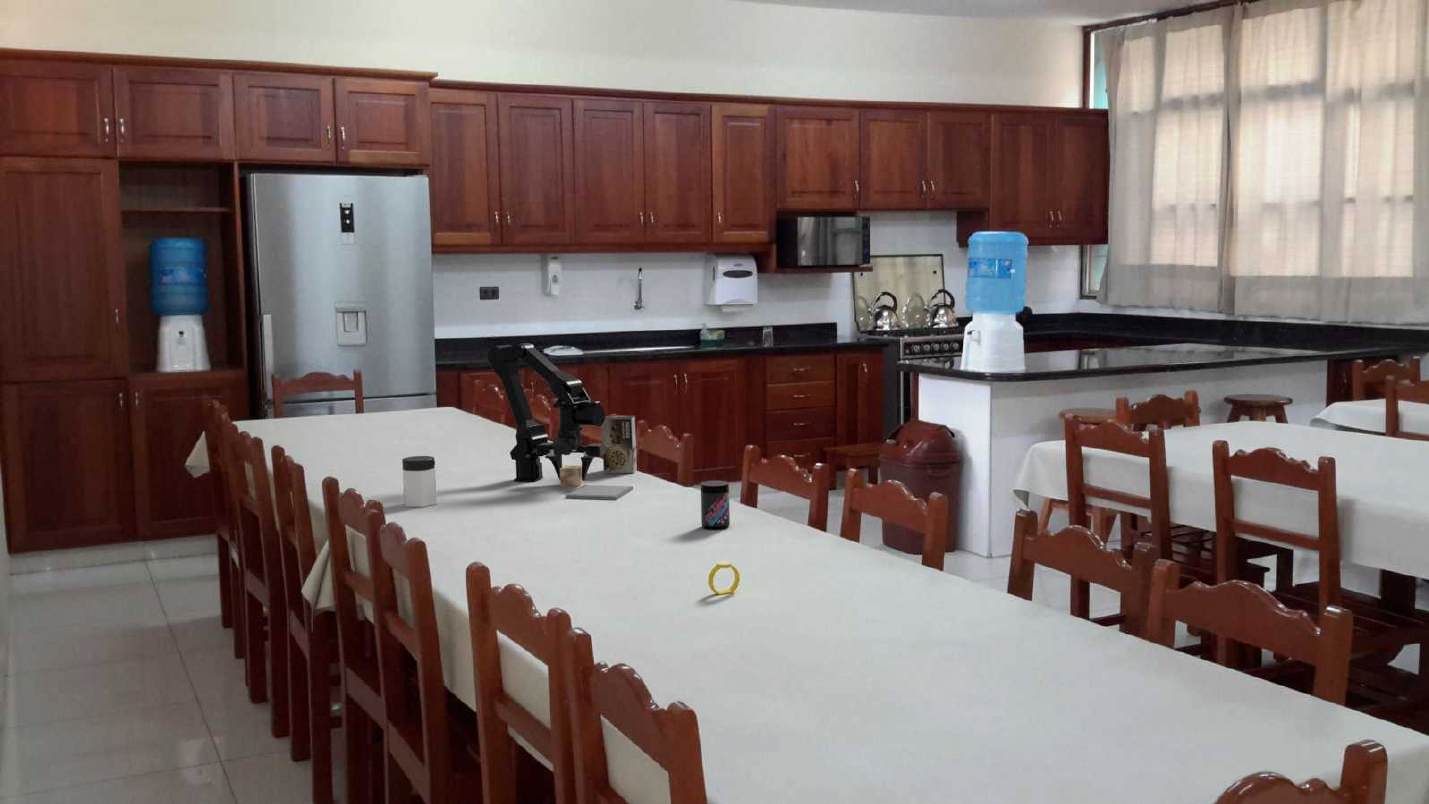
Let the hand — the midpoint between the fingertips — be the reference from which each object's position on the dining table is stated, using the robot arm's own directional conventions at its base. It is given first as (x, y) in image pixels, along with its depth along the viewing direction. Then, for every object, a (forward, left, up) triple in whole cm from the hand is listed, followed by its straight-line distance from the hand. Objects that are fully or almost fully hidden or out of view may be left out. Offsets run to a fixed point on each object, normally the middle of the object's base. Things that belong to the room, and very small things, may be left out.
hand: (571, 480), depth 346 cm
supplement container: (+52, -44, -1) cm, 68 cm away
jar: (-30, -31, -1) cm, 43 cm away
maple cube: (0, 0, -1) cm, 1 cm away
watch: (+67, -97, -2) cm, 118 cm away
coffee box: (+7, +21, -2) cm, 22 cm away
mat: (+12, -11, -1) cm, 16 cm away
